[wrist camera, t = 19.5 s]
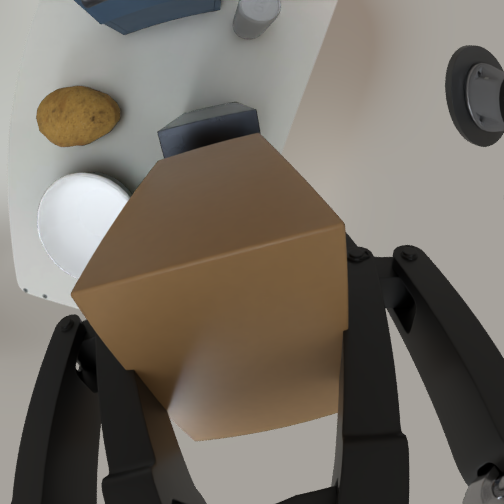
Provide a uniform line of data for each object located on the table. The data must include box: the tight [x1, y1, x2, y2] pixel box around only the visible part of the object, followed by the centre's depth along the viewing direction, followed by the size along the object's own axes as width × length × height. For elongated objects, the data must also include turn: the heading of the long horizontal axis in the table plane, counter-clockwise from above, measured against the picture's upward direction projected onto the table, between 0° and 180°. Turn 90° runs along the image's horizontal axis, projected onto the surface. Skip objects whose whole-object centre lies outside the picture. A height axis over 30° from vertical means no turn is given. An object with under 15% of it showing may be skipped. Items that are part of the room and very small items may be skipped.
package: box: [71, 133, 348, 441], centre depth 13 cm, size 6×8×12 cm
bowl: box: [37, 172, 132, 279], centre depth 42 cm, size 19×19×8 cm
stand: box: [157, 102, 261, 159], centre depth 33 cm, size 8×10×22 cm
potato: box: [36, 86, 120, 147], centre depth 33 cm, size 10×13×9 cm
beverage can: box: [233, 0, 281, 39], centre depth 29 cm, size 5×5×12 cm
